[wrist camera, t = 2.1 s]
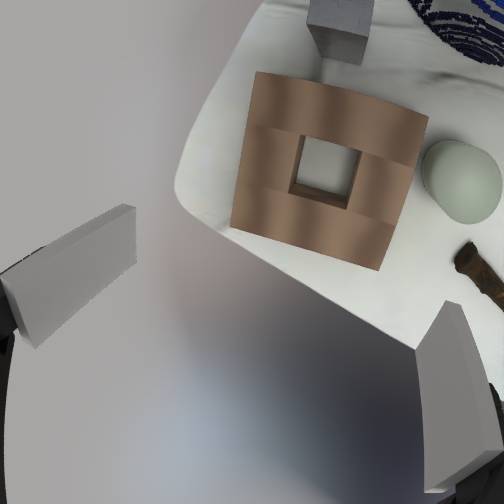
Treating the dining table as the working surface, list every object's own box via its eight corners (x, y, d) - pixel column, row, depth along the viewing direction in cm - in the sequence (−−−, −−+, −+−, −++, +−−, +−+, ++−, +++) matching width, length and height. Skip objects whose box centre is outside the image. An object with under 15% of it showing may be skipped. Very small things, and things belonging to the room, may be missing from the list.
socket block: (418, 116, 29) (428, 116, 24) (375, 252, 37) (378, 271, 33) (268, 76, 32) (256, 71, 28) (243, 213, 40) (229, 226, 36)
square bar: (366, 32, 26) (376, -12, 14) (360, 65, 28) (368, 37, 16) (328, 23, 27) (315, -25, 15) (322, 56, 29) (306, 23, 17)
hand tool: (449, 258, 35) (458, 276, 31) (468, 237, 32) (480, 253, 28) (508, 326, 35) (517, 344, 31) (525, 310, 33) (535, 327, 29)
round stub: (485, 154, 27) (511, 165, 21) (466, 213, 31) (486, 234, 25) (431, 129, 29) (449, 134, 23) (413, 192, 33) (426, 209, 27)
